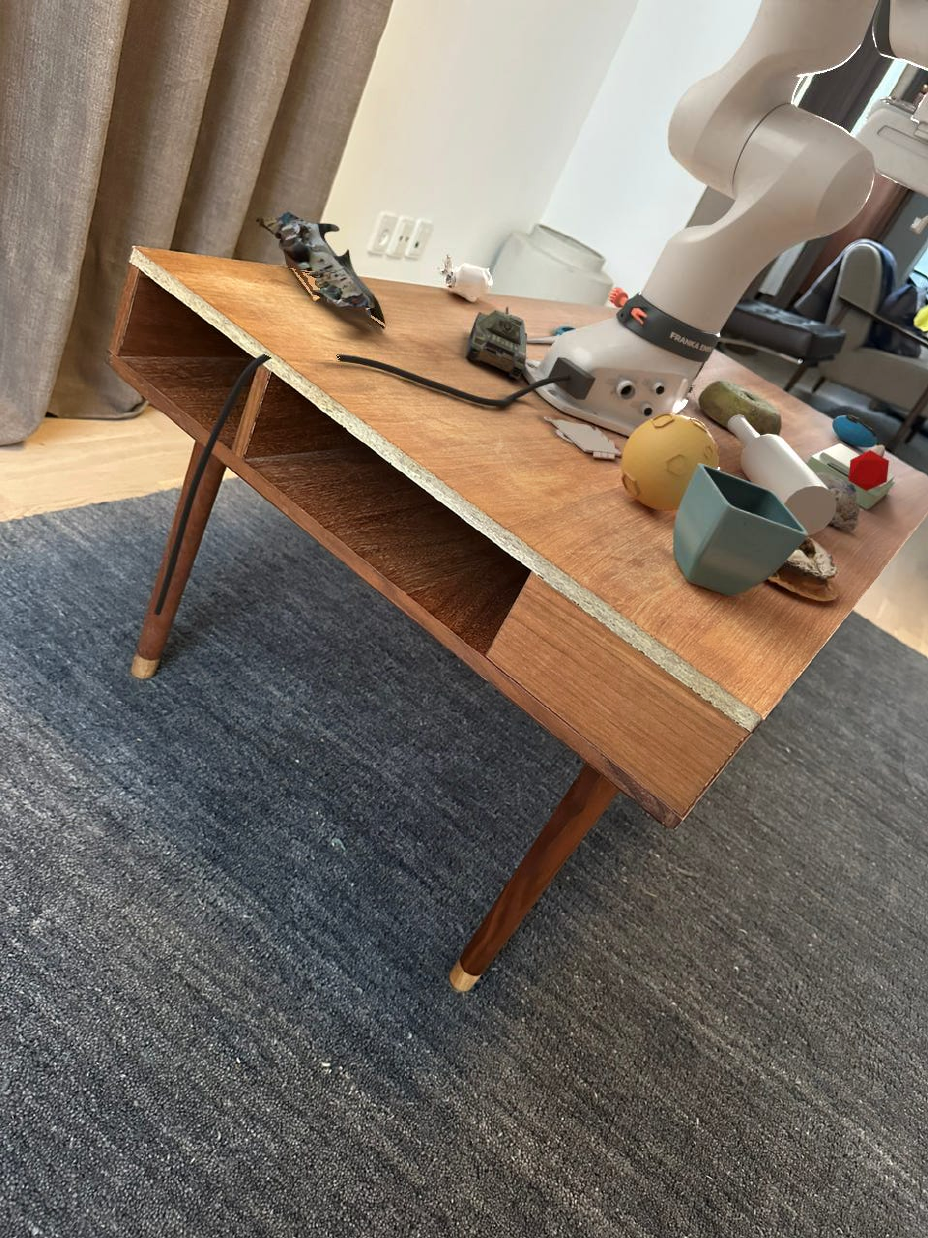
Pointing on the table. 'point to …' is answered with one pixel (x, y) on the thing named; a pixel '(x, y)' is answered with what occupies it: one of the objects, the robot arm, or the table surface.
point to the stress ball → (666, 459)
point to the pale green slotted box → (847, 473)
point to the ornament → (854, 431)
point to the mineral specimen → (842, 501)
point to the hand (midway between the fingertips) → (885, 217)
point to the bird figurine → (466, 279)
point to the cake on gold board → (809, 572)
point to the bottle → (784, 476)
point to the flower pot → (732, 532)
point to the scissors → (553, 338)
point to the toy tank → (499, 342)
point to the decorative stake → (869, 469)
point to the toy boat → (321, 263)
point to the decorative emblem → (586, 438)
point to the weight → (739, 407)
